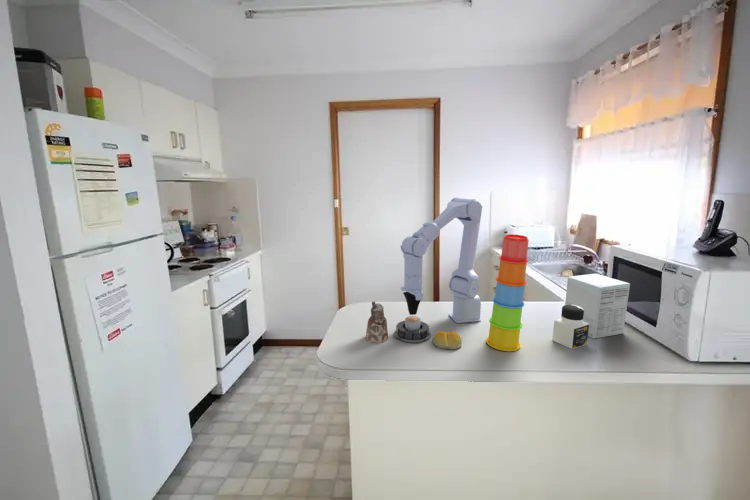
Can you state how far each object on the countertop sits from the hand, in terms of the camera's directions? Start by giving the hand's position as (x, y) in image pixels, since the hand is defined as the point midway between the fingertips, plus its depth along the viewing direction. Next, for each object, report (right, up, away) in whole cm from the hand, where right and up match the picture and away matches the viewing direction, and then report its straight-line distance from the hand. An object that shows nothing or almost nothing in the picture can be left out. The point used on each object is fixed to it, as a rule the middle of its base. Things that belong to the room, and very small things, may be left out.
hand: (412, 314), depth 122 cm
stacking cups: (+28, -9, -5) cm, 30 cm away
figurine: (-12, -8, -1) cm, 14 cm away
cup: (0, -7, +1) cm, 7 cm away
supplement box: (+62, -6, +6) cm, 63 cm away
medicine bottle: (+49, -8, -5) cm, 50 cm away
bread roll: (+11, -9, -5) cm, 15 cm away
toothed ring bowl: (0, -7, +2) cm, 7 cm away
